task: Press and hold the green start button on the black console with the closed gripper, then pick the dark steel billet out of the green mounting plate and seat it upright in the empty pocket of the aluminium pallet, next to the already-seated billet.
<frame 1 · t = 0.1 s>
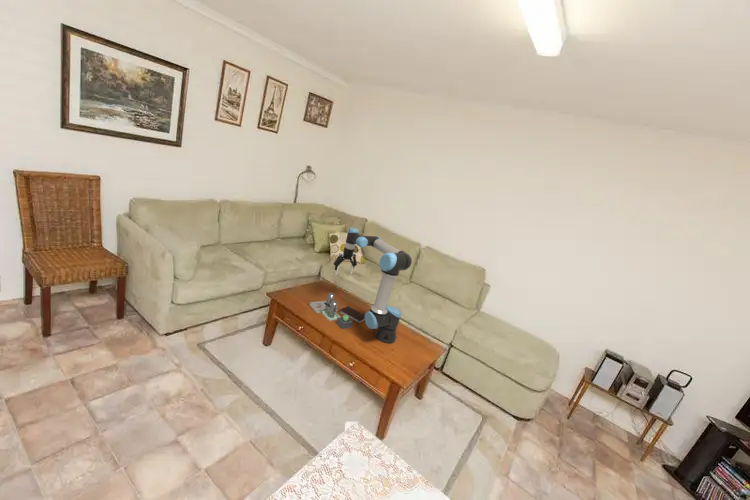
hand: (343, 273, 269), 28 cm above the table, fingers open, 13 cm apart
green mounting plate: (330, 316, 258), on the table
pallet: (323, 308, 267), on the table
console: (343, 325, 250), on the table
book: (353, 316, 268), on the table
start button: (345, 319, 249), point 6 cm above the table, slide at 0.0 cm
billet: (332, 309, 256), in the green mounting plate
seated billet: (328, 307, 270), resting in pallet
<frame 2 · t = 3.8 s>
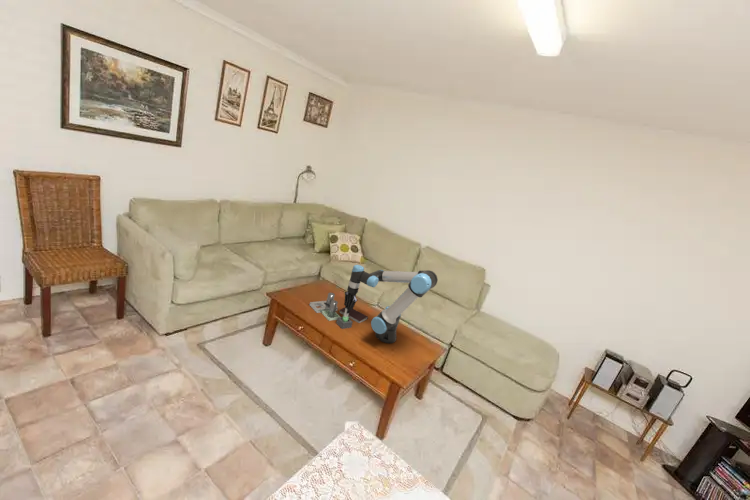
hand: (345, 316, 248), 8 cm above the table, fingers closed
start button: (345, 319, 249), point 5 cm above the table, slide at -0.6 cm, touching gripper
everything else where it was.
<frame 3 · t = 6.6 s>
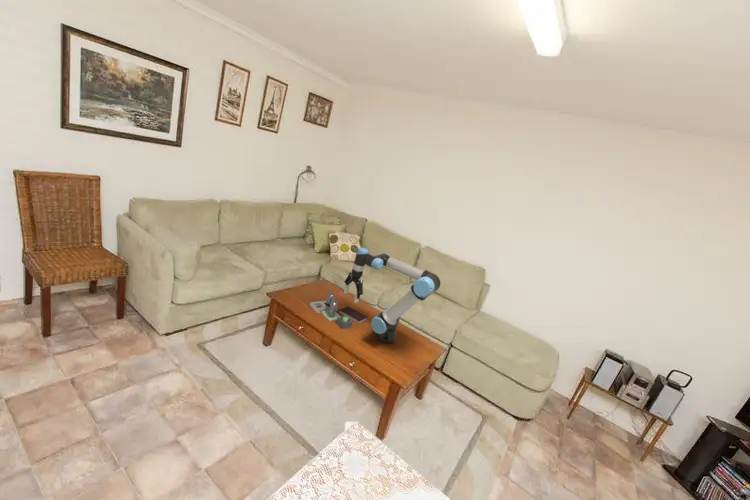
hand: (350, 297, 244), 23 cm above the table, fingers open, 13 cm apart
start button: (344, 320, 249), point 4 cm above the table, slide at -1.4 cm
everything else where it was.
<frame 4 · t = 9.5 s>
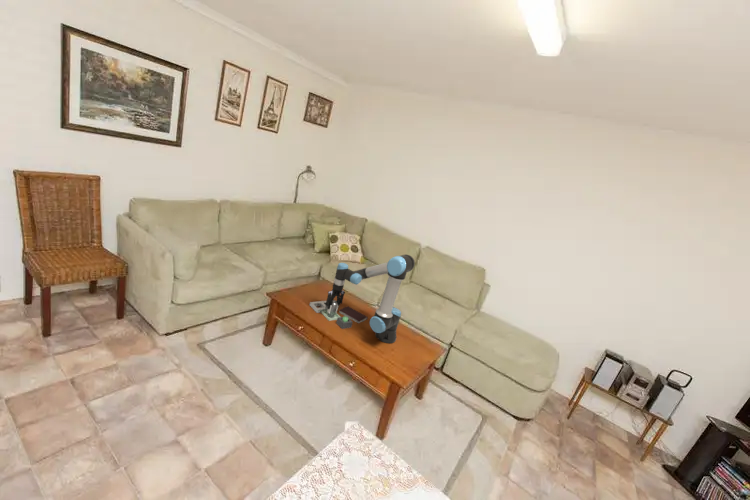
hand: (331, 312, 257), 4 cm above the table, fingers closed on billet, 5 cm apart
billet: (332, 308, 256), in the green mounting plate, touching gripper
everything else where it was.
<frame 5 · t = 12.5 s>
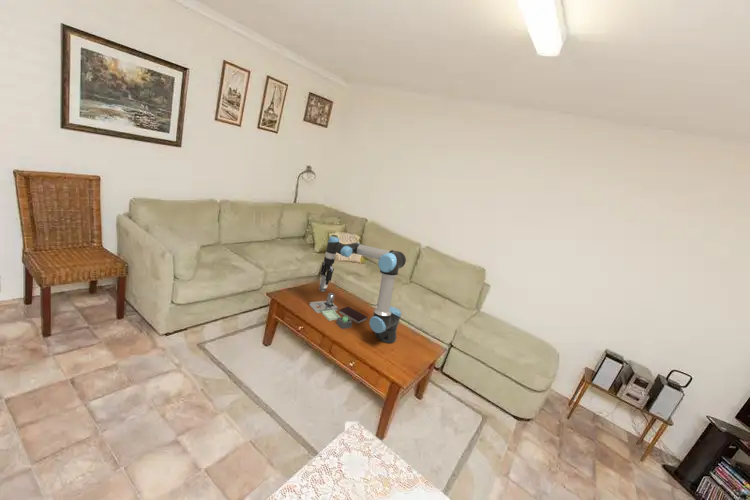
hand: (323, 286, 259), 19 cm above the table, fingers closed on billet, 5 cm apart
billet: (324, 283, 259), point 22 cm above the table, touching gripper
when the fingers open (4 cm above the table, at t = 15.3 s): billet stays where it is, resting in pallet.
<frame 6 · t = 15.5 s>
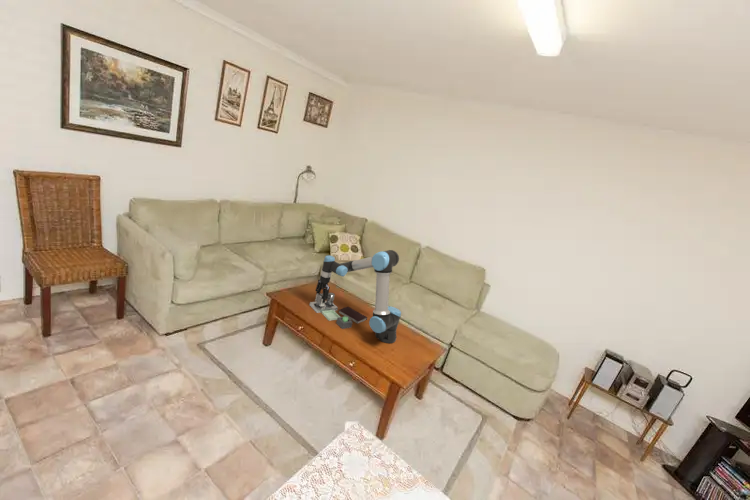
hand: (319, 303, 263), 5 cm above the table, fingers open, 7 cm apart
billet: (319, 301, 263), in the pallet
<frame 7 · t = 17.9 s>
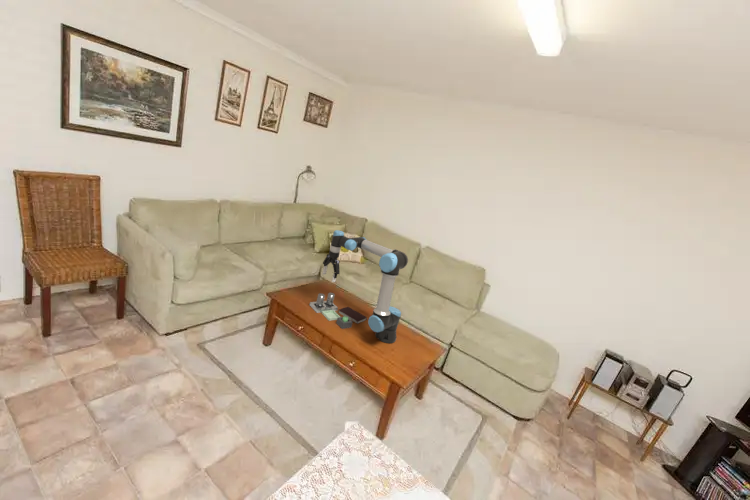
hand: (328, 277, 260), 26 cm above the table, fingers open, 13 cm apart
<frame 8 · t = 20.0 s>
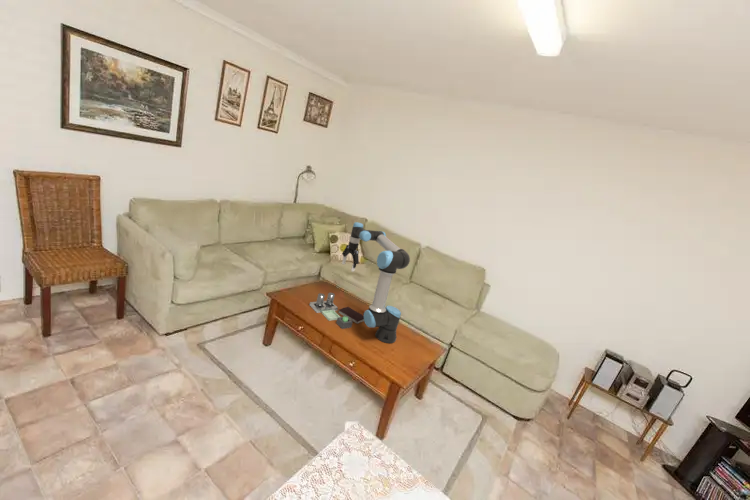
hand: (347, 267, 273), 32 cm above the table, fingers open, 13 cm apart
at the end: billet 0.1 cm from the target spot on the pallet, point 6.0 cm above the pallet's base; billet tilted 0°; start button slide at -1.4 cm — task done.
